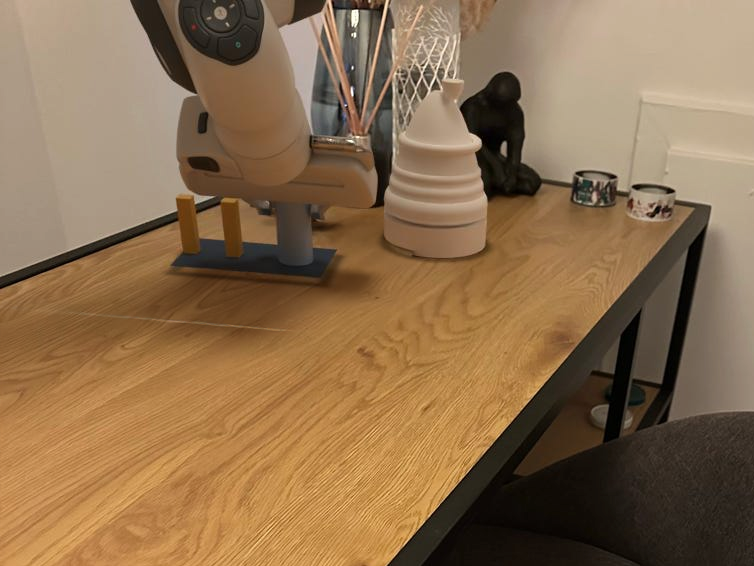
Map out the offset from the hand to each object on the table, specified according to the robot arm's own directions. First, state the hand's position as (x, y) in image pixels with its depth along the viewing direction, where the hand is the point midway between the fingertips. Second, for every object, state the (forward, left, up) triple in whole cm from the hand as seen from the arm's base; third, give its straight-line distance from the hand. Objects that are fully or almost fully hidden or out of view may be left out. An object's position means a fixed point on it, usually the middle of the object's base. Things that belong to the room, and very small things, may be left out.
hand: (293, 211), depth 105 cm
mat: (-5, -1, -6) cm, 7 cm away
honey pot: (+15, +12, -6) cm, 20 cm away
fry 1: (-12, -1, -5) cm, 13 cm away
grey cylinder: (0, -1, -5) cm, 5 cm away
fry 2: (-7, -1, -5) cm, 9 cm away
